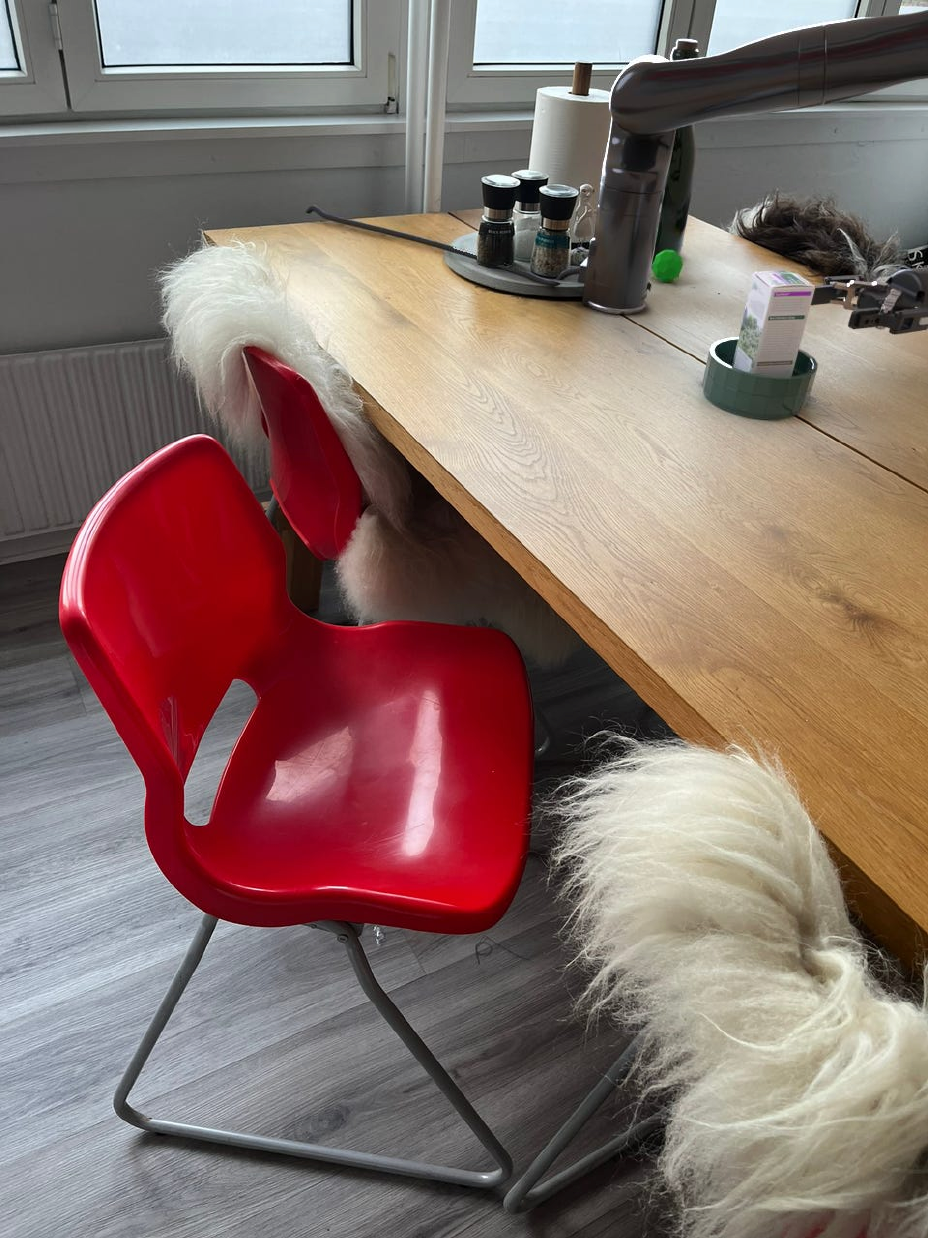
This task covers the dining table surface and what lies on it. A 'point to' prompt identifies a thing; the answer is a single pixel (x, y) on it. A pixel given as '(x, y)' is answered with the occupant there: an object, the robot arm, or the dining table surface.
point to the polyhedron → (667, 265)
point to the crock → (756, 385)
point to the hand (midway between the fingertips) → (828, 307)
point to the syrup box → (773, 323)
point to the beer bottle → (678, 173)
